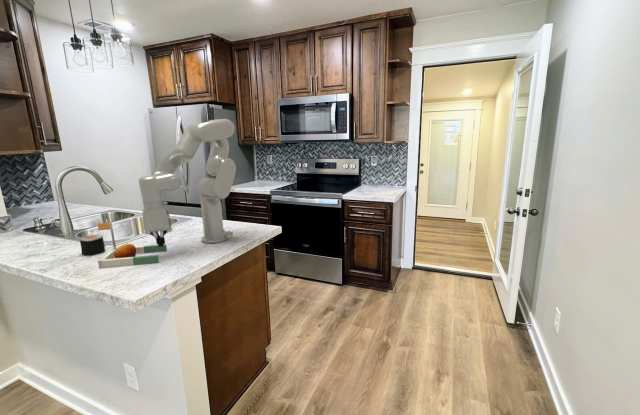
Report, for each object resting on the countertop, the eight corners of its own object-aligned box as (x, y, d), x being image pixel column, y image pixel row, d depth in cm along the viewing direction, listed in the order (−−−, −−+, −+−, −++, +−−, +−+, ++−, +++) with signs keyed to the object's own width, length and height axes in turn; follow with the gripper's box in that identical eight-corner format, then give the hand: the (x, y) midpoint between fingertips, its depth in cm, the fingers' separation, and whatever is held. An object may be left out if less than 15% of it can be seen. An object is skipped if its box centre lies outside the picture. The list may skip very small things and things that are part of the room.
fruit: (132, 260, 125) (120, 244, 123) (118, 269, 126) (106, 253, 125) (145, 253, 132) (134, 238, 131) (132, 261, 134) (121, 246, 133)
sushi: (89, 257, 133) (86, 239, 131) (79, 254, 136) (75, 237, 135) (108, 251, 140) (106, 234, 138) (98, 248, 143) (95, 232, 142)
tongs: (166, 250, 140) (162, 219, 136) (157, 262, 125) (152, 228, 122) (104, 255, 134) (98, 223, 131) (87, 269, 120) (80, 233, 116)
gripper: (174, 201, 133) (181, 240, 137) (137, 204, 129) (145, 244, 134) (170, 205, 126) (177, 246, 130) (131, 209, 122) (139, 250, 127)
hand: (161, 245), depth 132 cm, fingers closed
